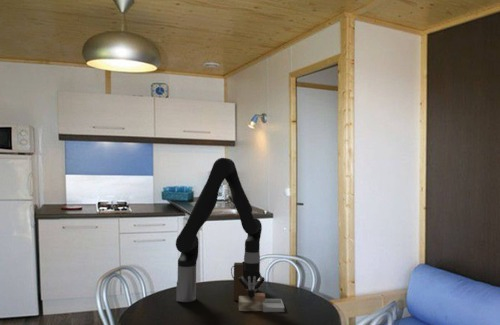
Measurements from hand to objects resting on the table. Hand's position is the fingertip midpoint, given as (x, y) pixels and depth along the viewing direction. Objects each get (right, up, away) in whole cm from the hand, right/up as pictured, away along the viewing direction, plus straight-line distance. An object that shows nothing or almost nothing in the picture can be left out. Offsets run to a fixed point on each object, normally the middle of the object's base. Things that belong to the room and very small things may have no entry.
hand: (251, 297), depth 182 cm
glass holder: (-4, -5, +25) cm, 26 cm away
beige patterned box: (0, -5, 0) cm, 5 cm away
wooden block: (-4, -5, +11) cm, 13 cm away
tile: (+4, -1, 0) cm, 4 cm away
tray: (+10, -5, 0) cm, 11 cm away
